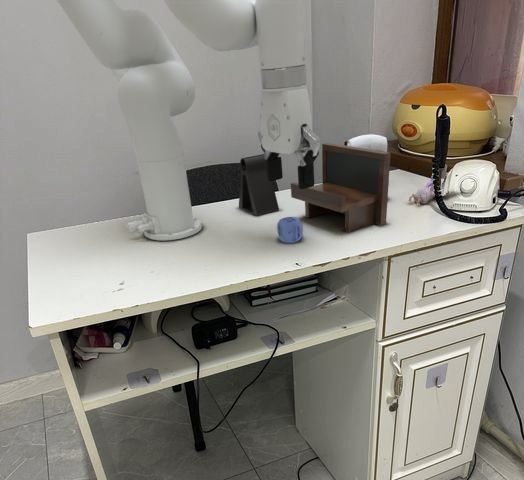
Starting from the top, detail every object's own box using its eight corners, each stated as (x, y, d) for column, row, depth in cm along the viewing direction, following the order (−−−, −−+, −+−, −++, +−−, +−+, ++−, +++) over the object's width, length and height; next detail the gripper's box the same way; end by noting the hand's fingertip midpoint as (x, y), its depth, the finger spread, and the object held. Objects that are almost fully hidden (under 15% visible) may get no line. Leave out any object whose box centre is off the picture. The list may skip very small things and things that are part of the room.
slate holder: (344, 238, 96) (346, 163, 88) (288, 218, 109) (285, 151, 101) (386, 224, 101) (390, 152, 93) (327, 206, 114) (327, 142, 106)
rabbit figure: (424, 213, 108) (470, 189, 113) (423, 187, 105) (472, 163, 109) (403, 207, 113) (449, 184, 117) (402, 182, 109) (449, 159, 114)
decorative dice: (284, 244, 95) (283, 224, 93) (277, 238, 98) (276, 218, 96) (303, 241, 96) (302, 221, 94) (296, 234, 99) (295, 215, 97)
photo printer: (381, 182, 128) (384, 131, 121) (387, 186, 124) (390, 134, 118) (343, 186, 127) (344, 135, 120) (348, 190, 123) (349, 138, 117)
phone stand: (279, 210, 114) (275, 156, 107) (256, 216, 112) (252, 161, 105) (259, 202, 121) (255, 151, 114) (238, 207, 118) (233, 155, 112)
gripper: (238, 83, 87) (248, 181, 96) (297, 82, 74) (303, 195, 83) (272, 77, 90) (279, 173, 99) (334, 76, 77) (336, 186, 86)
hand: (290, 183), depth 91 cm, fingers open, 9 cm apart
